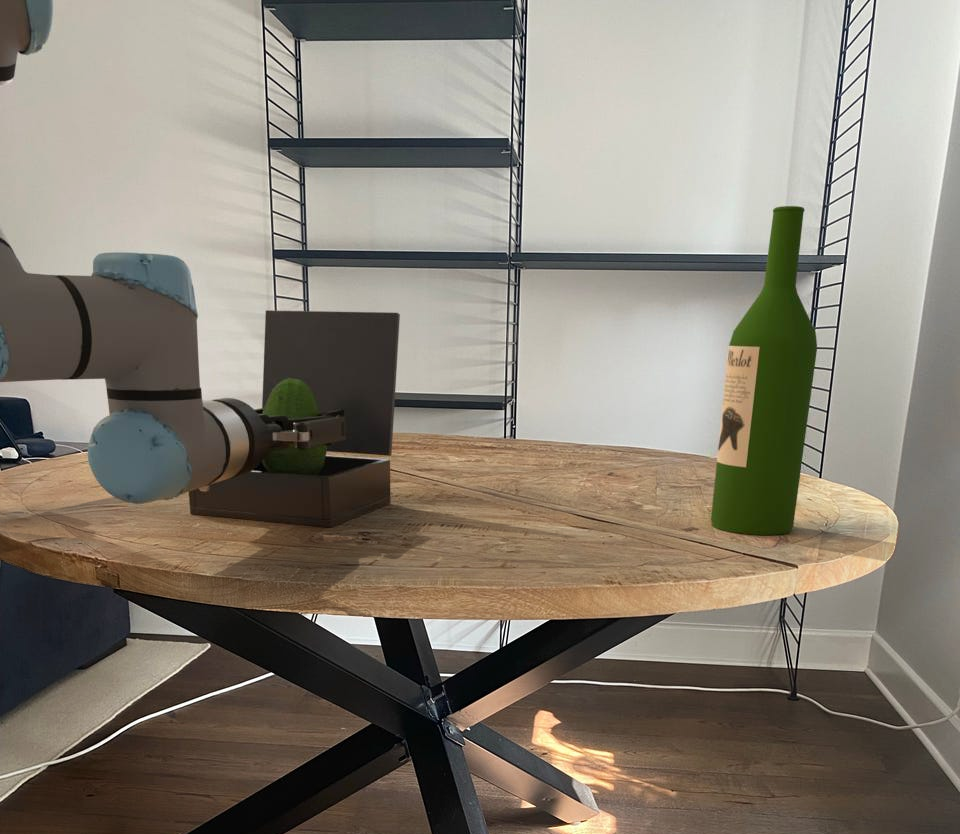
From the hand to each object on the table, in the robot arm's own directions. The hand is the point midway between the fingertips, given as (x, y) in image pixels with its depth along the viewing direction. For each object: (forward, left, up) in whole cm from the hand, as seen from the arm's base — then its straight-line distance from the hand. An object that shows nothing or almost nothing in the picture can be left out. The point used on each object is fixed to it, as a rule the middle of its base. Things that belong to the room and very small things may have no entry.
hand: (307, 419), depth 108 cm
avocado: (+1, -5, -7) cm, 9 cm away
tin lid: (+1, +4, +4) cm, 6 cm away
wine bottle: (+52, +7, -10) cm, 53 cm away
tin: (+1, -5, -10) cm, 11 cm away
